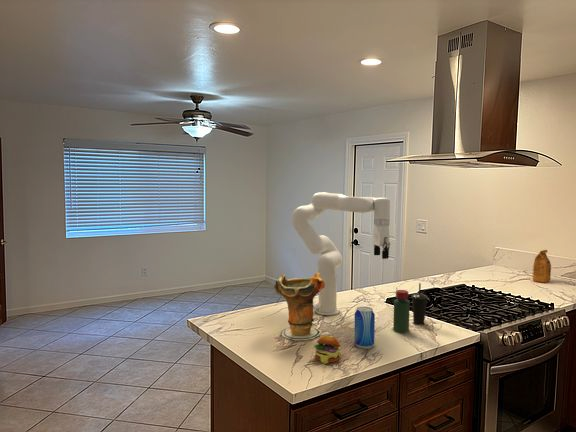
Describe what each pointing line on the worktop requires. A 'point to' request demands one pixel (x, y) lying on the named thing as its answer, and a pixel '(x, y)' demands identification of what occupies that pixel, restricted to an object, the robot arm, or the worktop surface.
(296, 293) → the decorative vase
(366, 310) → the beer can
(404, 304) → the bottle
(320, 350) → the cheeseburger
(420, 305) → the drinking cup
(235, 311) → the worktop surface
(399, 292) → the cap
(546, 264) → the coffee package
